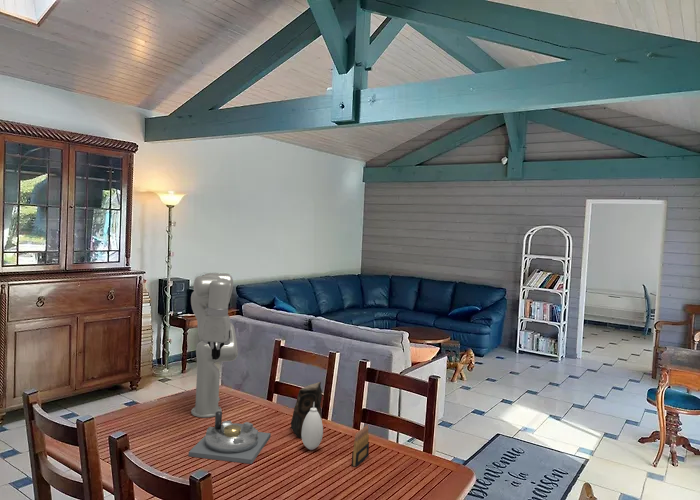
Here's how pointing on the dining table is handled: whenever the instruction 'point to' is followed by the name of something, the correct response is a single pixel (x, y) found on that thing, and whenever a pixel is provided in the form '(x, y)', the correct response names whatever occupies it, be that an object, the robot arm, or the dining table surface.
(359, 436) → the brown flat upright block
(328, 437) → the dining table surface
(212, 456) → the plate
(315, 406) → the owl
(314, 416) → the white air blower bulb
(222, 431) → the grey crank wheel
